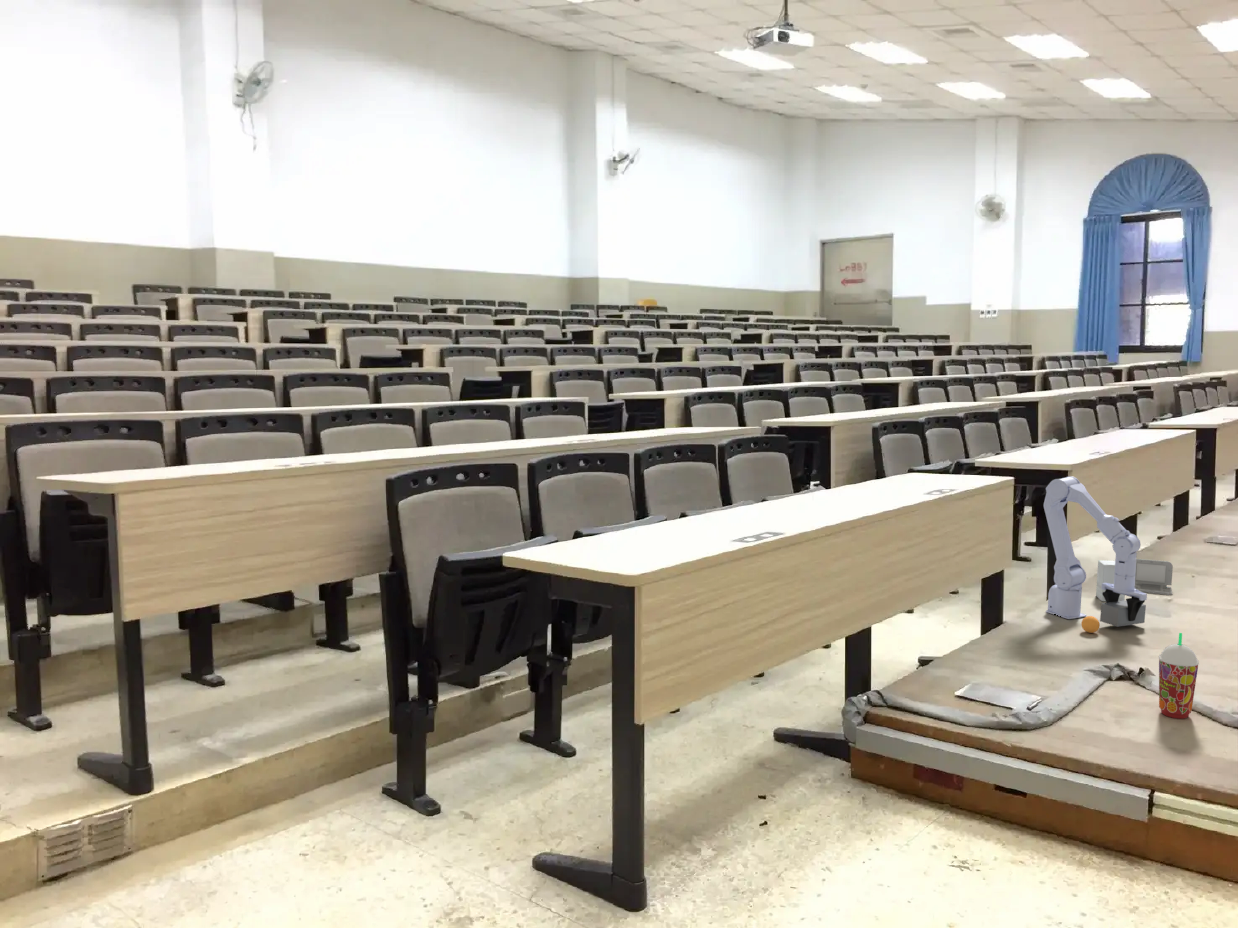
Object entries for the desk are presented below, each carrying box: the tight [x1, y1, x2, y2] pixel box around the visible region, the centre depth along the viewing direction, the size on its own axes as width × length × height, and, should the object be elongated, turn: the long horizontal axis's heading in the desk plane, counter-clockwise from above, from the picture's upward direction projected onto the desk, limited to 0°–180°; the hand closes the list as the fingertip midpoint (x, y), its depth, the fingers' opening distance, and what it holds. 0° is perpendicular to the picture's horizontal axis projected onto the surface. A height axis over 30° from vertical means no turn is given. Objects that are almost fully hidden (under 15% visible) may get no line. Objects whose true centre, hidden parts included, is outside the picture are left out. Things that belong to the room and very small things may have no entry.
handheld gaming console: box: [1135, 558, 1174, 596], centre depth 351 cm, size 13×9×10 cm
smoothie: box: [1158, 632, 1200, 720], centre depth 239 cm, size 8×8×20 cm
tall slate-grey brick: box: [1099, 599, 1147, 627], centre depth 309 cm, size 6×12×6 cm, turn 114°
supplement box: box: [1095, 559, 1126, 602], centre depth 340 cm, size 7×7×13 cm
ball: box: [1080, 615, 1101, 634], centre depth 304 cm, size 5×5×5 cm
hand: (1122, 617), depth 309 cm, fingers closed on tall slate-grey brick, 6 cm apart
